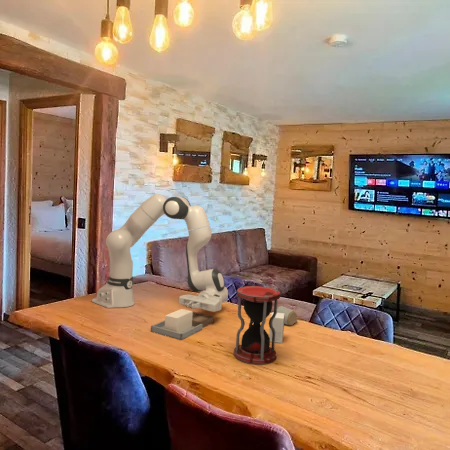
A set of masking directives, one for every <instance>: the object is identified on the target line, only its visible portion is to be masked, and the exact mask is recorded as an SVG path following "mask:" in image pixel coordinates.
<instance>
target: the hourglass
mask: <svg viewBox="0 0 450 450" xmlns="http://www.w3.org/2000/svg"><path fill="white" fill-rule="evenodd" d="M236 295H237V296H238V302H237V303H238V304H237V317H238V319H239V320H240V327H239V329H238V330H237V331H236V339H235V347H234V348H233V356H234V358H236V360H238V361H240V362H243V363H247V364H251V365H266V364H270V363H273V362H274V361H275V360H276V359H277V352H276V350H275V344H276V342H275V329H274V328H273V326H272V322H273V319H274V318H275V316H276V314H277V308H278V300H279V299H281V292H280V290H277V289H275V288H272V287H267V286H259V285H248V286H246V285H245V286H241V287H239V288H238V289H236ZM242 300H243V309H244V312H245V314H246V316H247V317H248V318H249V324H248V328H247V329H246V330H245V331H244V328H245V324H246V323H245V319H244V318H243V316H242ZM273 302H274V303H273ZM273 304H274V305H273ZM272 310H273V312H274V313H273V315H272ZM270 314H271V315H272V317H271V316H270ZM269 316H270V317H271V318H269V321H268V327H269V329H270V328H271V330H272V342H270V338H269V333H268V332H267V331H266V330H265V324H266V321H267V318H268V317H269ZM242 331H244V333H243V334H242V337H241V342H240V336H241V332H242ZM240 343H241V344H240Z"/></svg>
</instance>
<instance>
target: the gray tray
mask: <svg viewBox="0 0 450 450" xmlns="http://www.w3.org/2000/svg"><path fill="white" fill-rule="evenodd" d="M202 325H203V324H199V325H197V326H195V327H194V326H192V327H191V328H189V329H187V330H185V331H183V332H181V333H179V332H175V331H171V330H167V329H165V319H164V320H162V321H160V322H157V323H155V324H151V326H150V332H151V333H154V332H155V333H154V334H157V333H158V334H157V335H161V334H162V335H161V336H165V335H166V336H165V337H168V336H169V337H168V338H173V339H175V338H176V340H180V341H183V340H185V339H186V338H189V337H190V336H193V335H195V334H196V333H198V332H199V333H200V331H203V328H202Z"/></svg>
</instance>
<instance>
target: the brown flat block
mask: <svg viewBox="0 0 450 450" xmlns="http://www.w3.org/2000/svg"><path fill="white" fill-rule="evenodd" d="M213 323H214V316H212V315H208V314H202V313H198V312H195V311H193V314H192V326H194V327H195V326H197V325H199V324H203V325H202V329H204V328H205V327H208V326H210V325H212V324H213Z"/></svg>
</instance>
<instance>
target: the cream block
mask: <svg viewBox="0 0 450 450" xmlns="http://www.w3.org/2000/svg"><path fill="white" fill-rule="evenodd" d="M193 312H194V310H188V309H184V308H180V309H178V310H176V311H173V312H171V313H168V314H166V315H165V316H164V320H165V329H167V330H171V331H175V332H179V333H181V332H183V331H185V330H187V329H189V328H191V327H192V314H193Z"/></svg>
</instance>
